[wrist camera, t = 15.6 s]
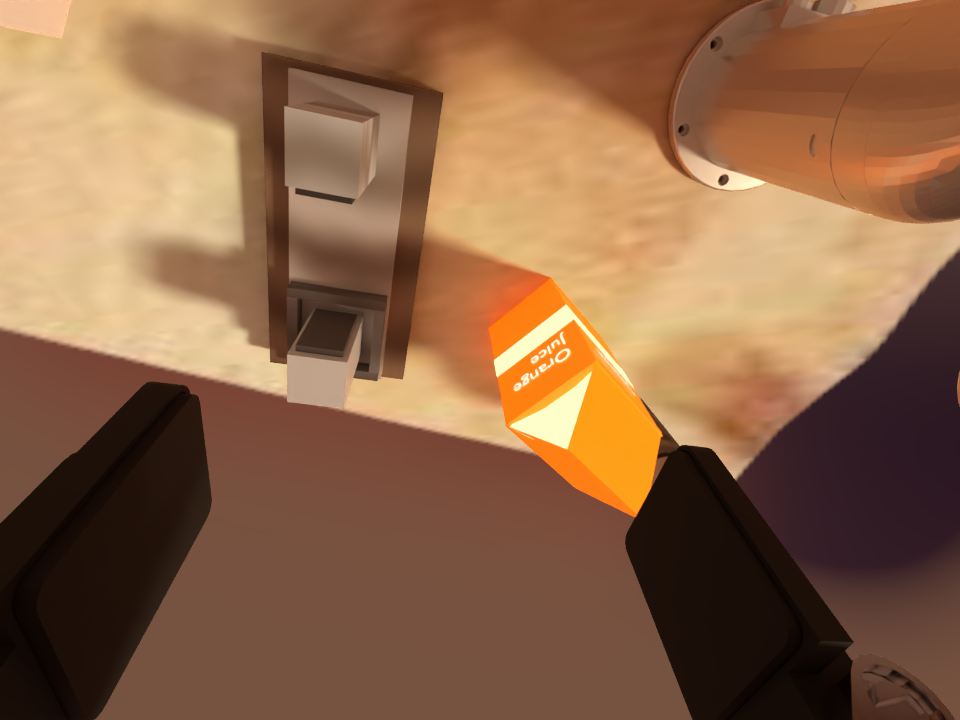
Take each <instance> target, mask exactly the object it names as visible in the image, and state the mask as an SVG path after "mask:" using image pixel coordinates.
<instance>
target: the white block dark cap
mask: <svg viewBox="0 0 960 720" xmlns="http://www.w3.org/2000/svg"><path fill="white" fill-rule="evenodd" d="M363 322H364V313H358V312H352V311H345V310H339V309H332V308H326V307H319V306H315V307H314V309H313V310H312V312H311V314H310V316H309V317H308V319H307V321H306V322H305V324H304V326H303V328H302V329H301V331H300V333H299V335H298V336H297V338H296V340H295V342H294V343H293V345H292V347H291V349H290V350H289V352H288V354H287V402H293V403H302V404H310V405H318V406H327V407H335V408H343V409H344V407H345V403H346V400H347V397H348V394H349V390H350V387H351V384H352V381H353V377H354V374H355V371H356V367H357V364H358V361H359V358H360V354H361V344H362V333H363Z"/></svg>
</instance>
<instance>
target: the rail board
mask: <svg viewBox="0 0 960 720" xmlns="http://www.w3.org/2000/svg"><path fill="white" fill-rule="evenodd" d="M262 86H263V121H264V156H265V191H266V226H267V262H268V297H269V332H270V362H273V363H281V364H287V354H288V352H289V350H290V349H291V347H292V345H293V343H294V342H295V340H296V338H297V336H298V335H299V333H300V331H301V329H302V328H303V326H304V324H305V322H306V321H307V319H308V317H309V316H310V314H311V312H312V310H313V309H314V307H315V306H319V307H326V308H332V309H339V310H345V311H352V312H358V313H364V322H363V333H362V344H361V354H360V358H359V361H358V364H357V367H356V371H355V374H354V377H353V378H357V379H365V380H373V381H377V380H378V379H381V377H389V378H396V379H403V375H404V368H405V361H406V354H407V347H408V340H409V333H410V326H411V319H412V312H413V304H414V297H415V290H416V283H417V276H418V269H419V262H420V255H421V248H422V241H423V234H424V227H425V220H426V213H427V205H428V198H429V191H430V184H431V177H432V170H433V163H434V156H435V149H436V142H437V135H438V128H439V121H440V113H441V106H442V99H443V93H440V92H436V91H431V90H427V89H423V88H418V87H414V86H410V85H405V84H401V83H397V82H392V81H388V80H384V79H379V78H375V77H370V76H366V75H362V74H357V73H353V72H349V71H344V70H340V69H336V68H331V67H327V66H323V65H318V64H314V63H310V62H305V61H301V60H297V59H292V58H288V57H284V56H279V55H275V54H271V53H264V52H262Z"/></svg>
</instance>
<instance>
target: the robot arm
mask: <svg viewBox="0 0 960 720" xmlns="http://www.w3.org/2000/svg"><path fill="white" fill-rule="evenodd" d="M852 1H853V0H817V1H815V2H814V4H813V2H812V1H810V0H762V1H759V2H756V3H752V4H749V5H747V6H745V7H743V8H741V9H739V10H737V11H735V12H733V13H731V14H729V15H728V16H727V17H725V18H724V19H723V20H721V21H720V22H719V23H717V24H716V25H715V26H714V27H713V28H712V29H711V30H710V31H709V32H708V33H707V34H706V35H705V36H704V37H703V38H702V39H701V40H700V41H699V43H698V44H697V45H696V47H695V48H694V50H693V51H692V52H691V54H690V55H689V56H688V58H687V60H686V62H685V64H684V66H683V68H682V70H681V71H680V73H679V75H678V78H677V81H676V84H675V87H674V89H673V92H672V97H671V102H670V107H669V119H668V130H669V137H670V143H671V147H672V149H673V152H674V155H675V157H676V159H677V161H678V162H679V164H680V165H681V167H682V169H683V170H684V171H685V172H686V173H687V174H688V175H689V176H690V177H691V178H693V179H694V180H696V181H698V182H699V183H701V184H703V185H705V186H708V187H711V188H714V189H717V190H724V191H743V190H747V189H751V188H755V187H759V186H761V185H763V184H765V183H771V184H774V185H777V186H780V187H783V188H787V189H790V190H793V191H796V192H799V193H803V194H806V195H809V196H812V197H816V198H819V199H822V200H825V201H828V202H832V203H835V204H838V205H841V206H844V207H848V208H851V209H854V210H857V211H861V212H864V213H867V214H870V215H874V216H877V217H881V218H884V219H888V220H892V221H897V222H903V223H915V224H929V223H940V222H949V221H954V220H959V219H960V0H920V1H914V2H908V3H903V4H897V5H891V6H885V7H879V8H873V9H867V10H862V11H856V12H854V10H855V8H856V6H855V5H854V4H852ZM711 41H713V47H712V48H710V44H711ZM680 126H681V127H682V129H681V131H680V132H678V129H679V127H680ZM720 176H721V177H720ZM719 177H720V180H718V179H719ZM957 391H958V402H959V405H960V373H959V378H958V386H957ZM208 473H209V472H208V464H207V456H206V448H205V440H204V432H203V424H202V416H201V408H200V401H199V398H198V396H196V395H192V394H190V391H189V389H188V388H187V387H186V386H184V385H177V384H168V383H160V382H147V383H146V384H145V385H143V386H142V387H141V388H140V389H139V390H138V391H137V392H136V393H135V394H134V395H133V396H132V397H131V398H130V399H129V400H128V401H127V402H126V403H125V404H124V405H123V406H122V407H121V408H120V409H119V410H118V411H117V412H116V413H115V415H114V416H113V417H112V418H110V419H109V421H108V422H107V423H106V424H105V425H104V426H103V427H102V428H101V429H100V430H99V431H98V432H97V433H96V434H95V435H94V436H93V437H92V438H91V439H90V440H89V441H88V442H87V443H86V444H85V445H84V446H83V447H82V448H81V449H80V450H79V451H78V452H76V453H74V454H72V455H70V456H69V457H68V458H66V459H65V460H64V461H63V462H62V463H61V464H60V465H59V466H58V467H57V468H56V469H55V470H54V471H53V472H52V473H51V474H50V475H49V476H48V477H47V478H46V479H45V480H44V481H43V482H42V483H41V484H40V485H39V486H38V487H37V488H36V489H35V490H34V491H33V492H32V493H31V494H30V495H29V496H28V497H27V498H26V499H25V500H24V501H23V502H22V503H21V504H20V505H19V506H18V507H17V508H16V509H15V510H14V511H13V512H12V513H11V514H10V515H9V516H8V517H7V518H6V519H5V520H3V521H2V522H1V523H0V720H94V719H96V718H97V716H98V715H99V714H100V713H101V712H102V710H103V708H104V707H105V705H106V703H107V702H108V700H109V698H110V696H111V694H112V692H113V690H114V689H115V687H116V685H117V683H118V681H119V680H120V678H121V676H122V674H123V672H124V670H125V668H126V667H127V665H128V663H129V661H130V659H131V657H132V656H133V654H134V652H135V650H136V648H137V646H138V645H139V643H140V641H141V639H142V637H143V635H144V633H145V632H146V630H147V628H148V626H149V624H150V622H151V621H152V619H153V617H154V615H155V613H156V611H157V610H158V608H159V606H160V604H161V602H162V600H163V598H164V597H165V595H166V593H167V591H168V589H169V587H170V586H171V584H172V582H173V580H174V578H175V576H176V574H177V573H178V571H179V569H180V567H181V565H182V563H183V562H184V560H185V558H186V556H187V554H188V552H189V551H190V549H191V547H192V545H193V543H194V541H195V539H196V538H197V536H198V534H199V532H200V530H201V528H202V527H203V525H204V523H205V521H206V519H207V517H208V515H209V512H210V508H211V502H212V498H211V489H210V481H209V474H208ZM625 544H626V550H627V553H628V555H629V558H630V561H631V563H632V566H633V568H634V571H635V573H636V576H637V578H638V581H639V584H640V586H641V589H642V591H643V594H644V597H645V599H646V602H647V604H648V607H649V609H650V612H651V615H652V617H653V620H654V622H655V625H656V627H657V630H658V633H659V635H660V638H661V640H662V643H663V645H664V648H665V651H666V653H667V655H668V658H669V661H670V663H671V666H672V668H673V671H674V674H675V676H676V679H677V681H678V684H679V686H680V689H681V692H682V694H683V697H684V699H685V702H686V704H687V707H688V710H689V712H690V714H691V717H692V719H693V720H955V719H954V717H953V715H952V714H951V712H950V711H949V709H948V708H947V707H946V706H945V705H944V704H943V702H941V700H940V699H939V698H938V697H937V695H936V694H935V693H934V692H932V690H930V689H929V688H928V687H927V686H926V685H925V684H924V683H923V682H922V681H921V680H920V679H918V678H917V677H916V676H914V675H913V674H911V673H910V672H909V671H907V670H906V669H904V668H903V667H902V666H900V665H898V664H896V663H894V662H892V661H890V660H888V659H886V658H883V657H880V656H876V655H872V654H865V655H859V656H858V657H857V658H855V659H854V660H853V661H852V660H851V659H850V658H849V656H848V655H847V653H846V652H845V650H846V649H847V648H848V647H849V646H850V645H851V644H853V641H852V639H851V638H850V637H849V635H848V634H847V632H846V631H845V630H844V628H843V627H842V626H841V625H840V623H839V622H838V620H837V619H836V617H835V616H834V615H833V613H832V612H831V611H830V609H829V608H828V606H827V605H826V604H825V603H824V601H823V600H822V598H821V597H820V596H819V594H818V593H817V591H816V590H815V589H814V587H813V586H812V585H811V583H810V582H809V580H808V579H807V578H806V576H805V575H804V574H803V572H802V571H801V570H800V568H799V567H798V565H797V564H796V563H795V561H794V560H793V559H792V557H791V556H790V554H789V553H788V552H787V550H786V549H785V548H784V546H783V545H782V544H781V542H780V541H779V539H778V538H777V537H776V535H775V534H774V533H773V531H772V530H771V529H770V527H769V526H768V524H767V523H766V522H765V520H764V519H763V518H762V516H761V515H760V513H759V512H758V511H757V509H756V508H755V507H754V505H753V504H752V503H751V501H750V500H749V498H748V497H747V496H746V494H745V493H744V492H743V490H742V489H741V488H740V486H739V485H738V483H737V482H736V481H735V479H734V478H733V476H732V475H731V474H730V472H729V471H728V470H727V468H726V467H725V466H724V464H723V463H722V461H721V460H720V459H719V457H718V456H717V455H716V453H715V452H714V451H713V450H712V449H709V448H705V447H697V446H688V445H681V446H680V447H678V448H677V450H676V451H672V452H671V453H670V454H669V455H668V457H667V459H666V461H665V463H664V465H663V467H662V468H661V470H660V472H659V474H658V476H657V478H656V480H655V482H654V483H653V485H652V487H651V489H650V491H649V493H648V495H647V497H646V498H645V500H644V502H643V504H642V506H641V508H640V510H639V511H638V513H637V515H636V517H635V519H634V521H633V523H632V525H631V526H630V528H629V530H628V532H627V535H626V540H625Z"/></svg>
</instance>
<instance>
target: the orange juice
mask: <svg viewBox="0 0 960 720" xmlns="http://www.w3.org/2000/svg"><path fill="white" fill-rule="evenodd" d="M489 333H490V339H491V344H492V350H493V355H494V365H495V370H496V376H497V378H498V383H499V389H500V394H501V400H502V405H503V411H504V416H505V422H506V425H507V426H506V425H505V426H506V427H507V428H509V429H510V430H511V431H512V432H513V433H514V434H515V435H516V436H518V437H519V438H520V439H521V440H522V441H523V442H524V443H525V444H527V445H528V446H529V447H530V448H531V449H532V450H533V451H534V452H535V453H537V454H538V455H539V456H540V457H541V458H542V459H543V460H544V461H546V462H547V463H548V464H549V465H550V466H551V467H552V468H554V469H555V470H556V471H557V472H558V473H559V474H560V475H561V476H563V477H564V478H565V479H566V480H567V481H568V482H569V483H570V484H572V485H573V486H574V487H575V488H577V489H579V490H581V491H583V492H585V493H587V494H589V495H591V496H593V497H595V498H597V499H599V500H601V501H603V502H605V503H607V504H609V505H611V506H613V507H615V508H617V509H619V510H621V511H623V512H625V513H627V514H629V515H632V516H633V517H636V515H637V513H638V511H639V510H640V508H641V506H642V504H643V502H644V500H645V498H646V497H647V495H648V493H649V491H650V489H651V484H652V479H653V474H654V469H655V464H656V459H657V454H658V449H659V443H660V438H661V437H662V436H663V435H662V434H661V433H662V432H661V431H660V430H659V428H658V427H657V426H656V424H655V422H654V421H653V419H652V418H651V416H650V414H649V413H648V411H647V409H646V408H645V406H644V405H643V403H642V401H641V400H640V398H639V396H638V395H637V393H636V392H635V390H634V387H633V386H632V384H631V383H630V381H629V379H628V378H627V376H626V375H625V373H624V372H623V370H622V369H621V367H620V366H619V364H618V363H617V361H616V359H615V358H614V356H613V354H612V353H611V351H610V350H609V348H608V346H607V345H606V343H605V341H604V340H603V339H602V337H601V336H600V335H599V334H598V333H597V331H596V330H595V329H594V328H593V327H592V326H591V324H590V323H589V322H588V321H587V320H586V318H585V317H584V316H583V315H582V314H581V313H580V311H579V310H578V309H577V308H576V307H575V305H574V304H573V303H572V302H571V301H570V299H569V298H568V297H567V296H566V295H565V294H564V292H563V291H562V290H561V289H560V288H559V286H558V285H557V284H556V283H555V282H554V281H553V279H552V278H550V279H549V280H548V281H547V282H545V283H544V284H543V285H542V286H540V287H539V288H538V289H537V290H535V291H534V292H533V293H532V294H530V295H529V296H528V297H527V298H525V299H524V300H523V301H522V302H520V303H519V304H518V305H517V306H515V307H514V308H513V309H512V310H511V311H509V312H508V313H507V314H506V315H504V316H503V317H502V318H501V319H499V320H498V321H497V322H496V323H494V324H493V325H492V326H491V327H489Z"/></svg>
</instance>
